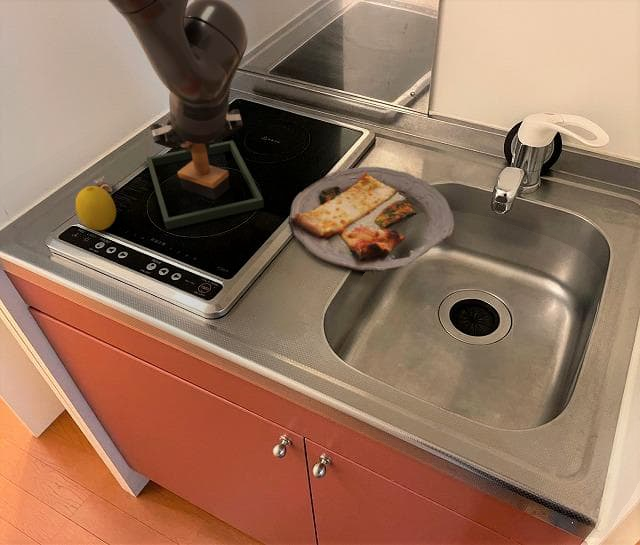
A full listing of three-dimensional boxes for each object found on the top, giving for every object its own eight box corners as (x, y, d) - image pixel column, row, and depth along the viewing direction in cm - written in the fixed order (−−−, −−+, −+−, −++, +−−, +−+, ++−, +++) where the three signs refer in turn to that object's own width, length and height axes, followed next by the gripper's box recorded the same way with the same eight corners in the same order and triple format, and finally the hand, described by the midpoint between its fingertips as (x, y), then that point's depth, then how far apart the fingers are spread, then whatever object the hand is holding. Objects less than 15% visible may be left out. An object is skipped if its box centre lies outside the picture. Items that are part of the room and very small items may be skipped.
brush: (180, 189, 96) (167, 127, 88) (196, 177, 98) (184, 116, 90) (215, 201, 93) (205, 138, 85) (230, 188, 96) (221, 126, 88)
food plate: (364, 303, 77) (365, 284, 74) (259, 224, 90) (257, 205, 87) (478, 224, 89) (483, 206, 86) (371, 164, 101) (372, 147, 99)
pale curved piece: (108, 190, 97) (101, 170, 94) (116, 194, 96) (109, 174, 93) (93, 198, 95) (86, 178, 92) (101, 203, 94) (94, 183, 91)
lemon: (129, 225, 90) (115, 183, 84) (102, 245, 86) (86, 202, 81) (104, 214, 92) (90, 172, 86) (77, 233, 89) (60, 190, 83)
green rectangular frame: (264, 211, 92) (263, 199, 90) (167, 234, 88) (164, 221, 86) (234, 151, 105) (233, 140, 104) (149, 169, 102) (146, 157, 100)
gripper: (242, 70, 77) (232, 113, 94) (138, 88, 74) (146, 129, 90) (257, 124, 77) (243, 158, 94) (152, 144, 74) (158, 175, 90)
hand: (195, 143), depth 92 cm, fingers closed on brush, 2 cm apart
